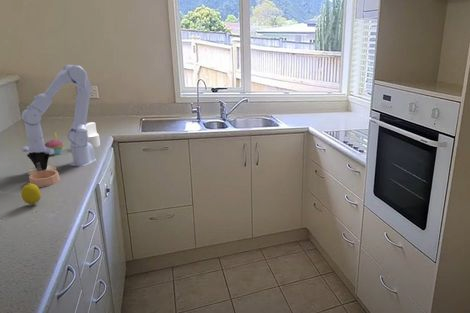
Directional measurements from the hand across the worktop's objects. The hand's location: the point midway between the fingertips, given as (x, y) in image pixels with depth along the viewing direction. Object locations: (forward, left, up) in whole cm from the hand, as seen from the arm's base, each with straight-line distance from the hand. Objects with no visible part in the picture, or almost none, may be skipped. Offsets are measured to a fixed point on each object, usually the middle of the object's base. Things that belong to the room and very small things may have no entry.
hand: (41, 168), depth 144 cm
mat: (0, 0, -2) cm, 2 cm away
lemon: (+26, +21, -2) cm, 33 cm away
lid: (0, 0, -1) cm, 1 cm away
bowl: (+9, +10, -2) cm, 14 cm away
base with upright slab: (-40, -6, -2) cm, 40 cm away
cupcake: (-23, -14, -2) cm, 27 cm away
